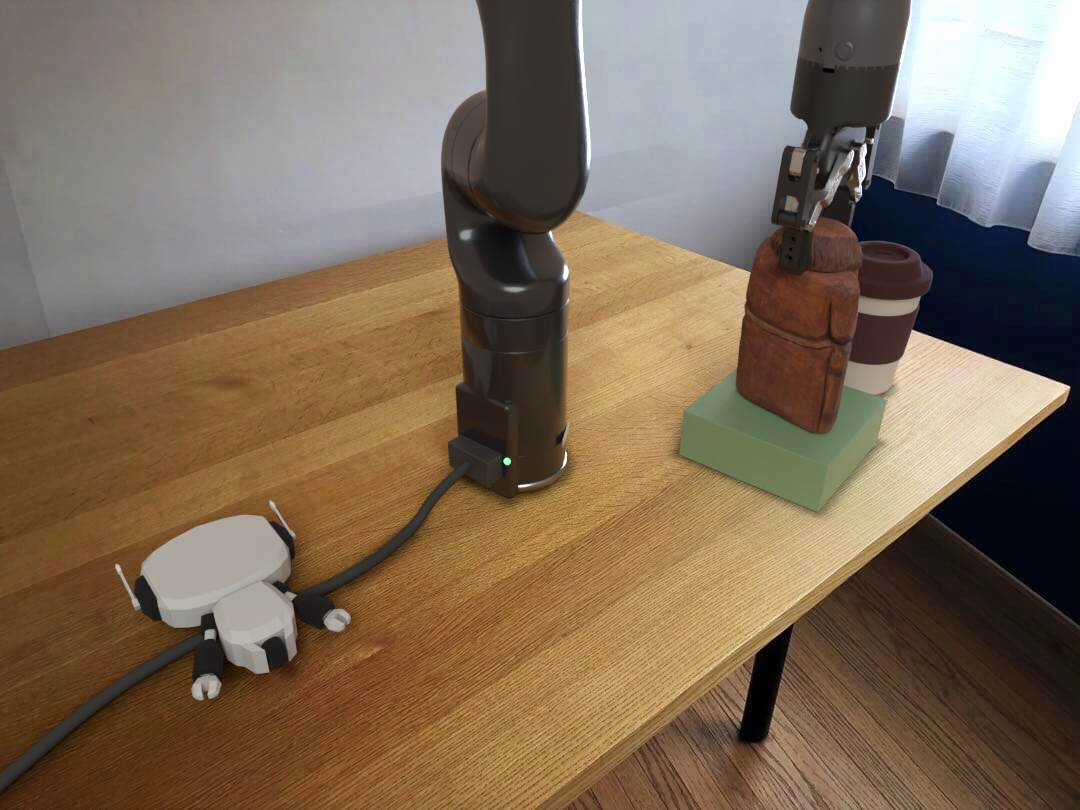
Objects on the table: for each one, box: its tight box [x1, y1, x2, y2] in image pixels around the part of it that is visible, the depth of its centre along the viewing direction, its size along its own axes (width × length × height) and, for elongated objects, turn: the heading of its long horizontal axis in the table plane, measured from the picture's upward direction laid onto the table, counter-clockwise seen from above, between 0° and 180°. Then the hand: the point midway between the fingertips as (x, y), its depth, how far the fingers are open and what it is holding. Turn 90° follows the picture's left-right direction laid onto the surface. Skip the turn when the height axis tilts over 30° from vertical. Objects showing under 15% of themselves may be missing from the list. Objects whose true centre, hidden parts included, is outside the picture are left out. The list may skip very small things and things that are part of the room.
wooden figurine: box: [736, 216, 863, 434], centre depth 76 cm, size 12×6×18 cm, turn 38°
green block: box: [678, 368, 888, 513], centre depth 82 cm, size 14×14×5 cm
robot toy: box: [114, 499, 352, 701], centre depth 63 cm, size 12×4×15 cm
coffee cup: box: [844, 240, 934, 396], centre depth 91 cm, size 10×10×15 cm
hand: (813, 256), depth 73 cm, fingers open, 8 cm apart
